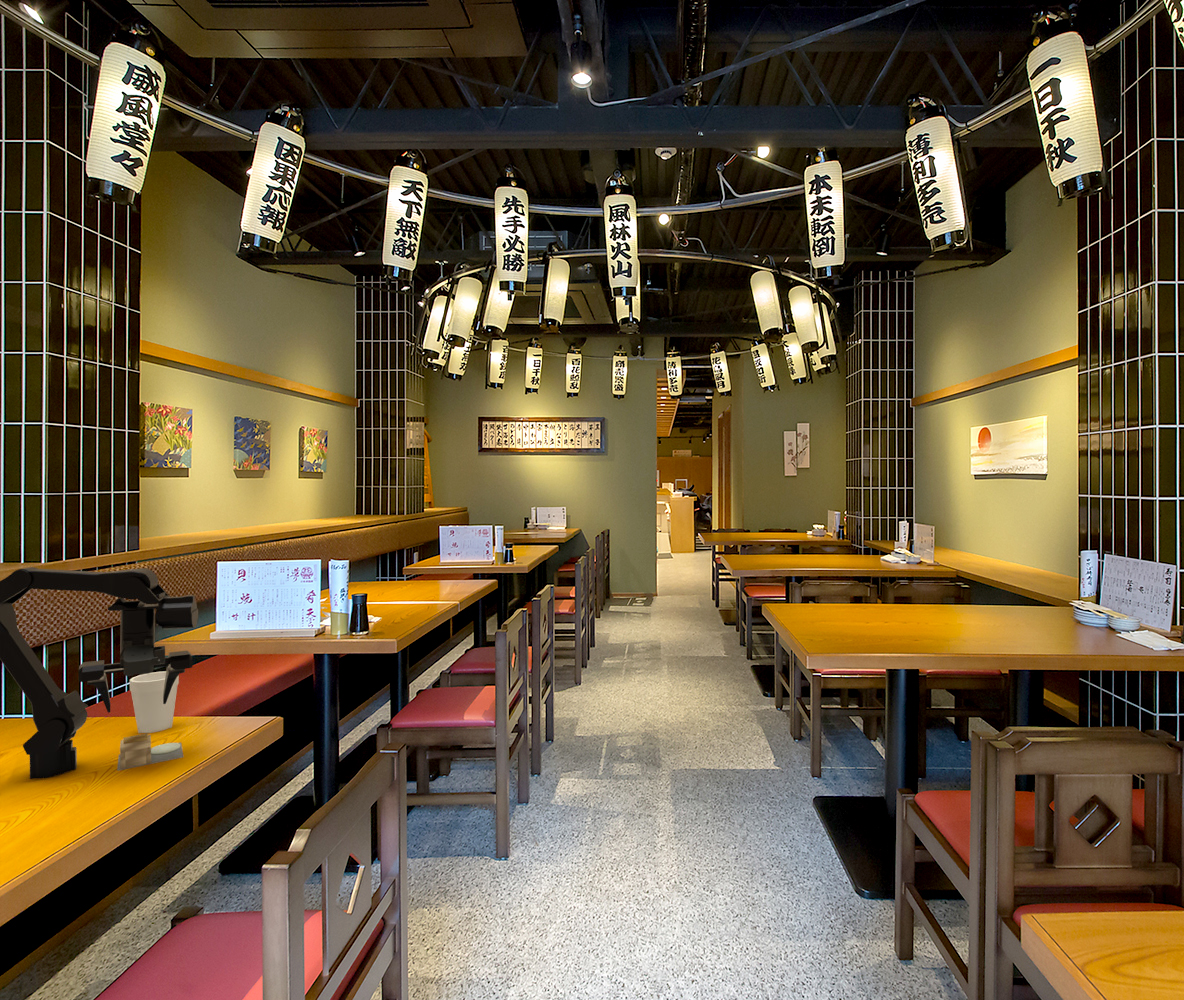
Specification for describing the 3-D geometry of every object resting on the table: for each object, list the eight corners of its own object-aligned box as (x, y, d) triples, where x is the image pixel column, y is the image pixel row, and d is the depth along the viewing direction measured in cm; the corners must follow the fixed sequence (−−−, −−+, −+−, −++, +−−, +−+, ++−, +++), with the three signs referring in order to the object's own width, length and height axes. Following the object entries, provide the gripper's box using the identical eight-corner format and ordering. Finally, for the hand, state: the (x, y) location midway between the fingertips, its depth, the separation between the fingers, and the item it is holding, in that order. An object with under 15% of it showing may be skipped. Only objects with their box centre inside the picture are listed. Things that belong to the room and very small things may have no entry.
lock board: (117, 775, 127) (117, 757, 127) (118, 759, 135) (118, 742, 135) (183, 761, 133) (183, 744, 133) (181, 747, 141) (180, 731, 141)
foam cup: (120, 737, 148) (119, 680, 148) (158, 723, 157) (157, 670, 157) (152, 741, 145) (151, 683, 145) (188, 727, 154) (187, 672, 154)
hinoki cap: (120, 769, 127) (120, 742, 127) (121, 760, 131) (120, 735, 131) (151, 762, 130) (150, 737, 130) (150, 755, 134) (150, 730, 134)
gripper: (77, 643, 119) (77, 728, 119) (195, 632, 131) (195, 709, 130) (79, 634, 128) (79, 712, 128) (190, 623, 139) (189, 696, 139)
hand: (137, 707), depth 131 cm, fingers open, 9 cm apart
